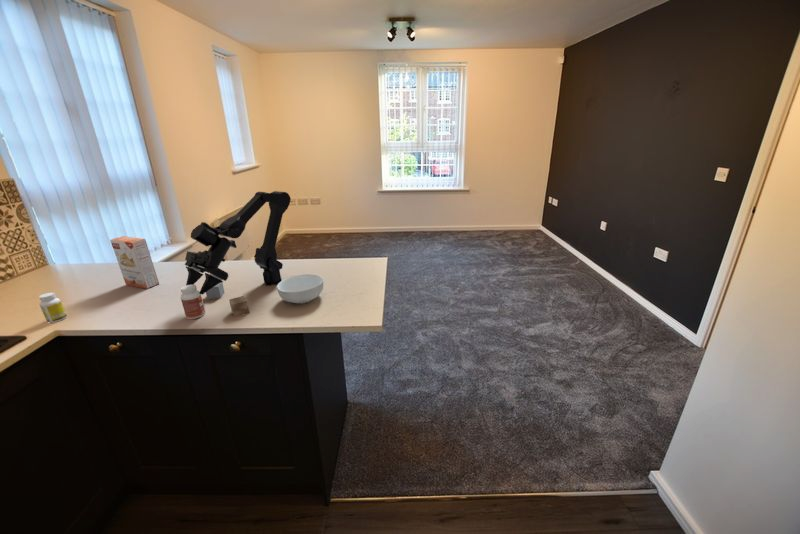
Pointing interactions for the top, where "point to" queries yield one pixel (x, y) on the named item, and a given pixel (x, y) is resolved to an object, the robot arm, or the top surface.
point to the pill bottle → (192, 302)
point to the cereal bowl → (300, 288)
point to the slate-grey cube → (215, 291)
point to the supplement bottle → (52, 308)
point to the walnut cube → (239, 306)
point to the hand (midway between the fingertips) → (193, 291)
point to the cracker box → (135, 261)
